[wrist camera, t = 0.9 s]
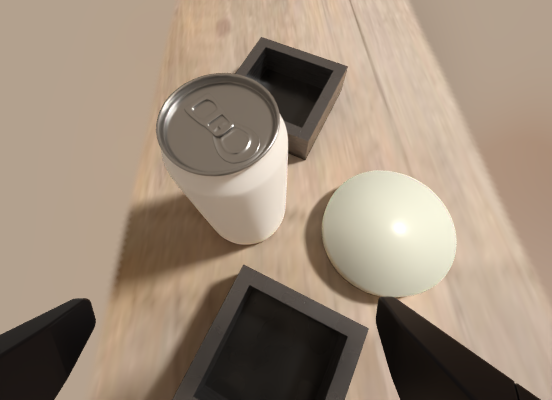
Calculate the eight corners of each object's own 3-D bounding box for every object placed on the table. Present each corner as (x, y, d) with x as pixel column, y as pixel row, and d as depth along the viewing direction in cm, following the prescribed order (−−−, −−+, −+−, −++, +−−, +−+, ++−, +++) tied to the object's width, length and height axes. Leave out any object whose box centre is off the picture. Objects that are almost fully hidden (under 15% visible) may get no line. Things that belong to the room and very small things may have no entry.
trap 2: (306, 467, 17) (311, 498, 14) (185, 391, 19) (169, 405, 16) (356, 325, 20) (368, 328, 17) (248, 270, 22) (243, 264, 19)
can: (242, 262, 22) (201, 215, 11) (195, 206, 24) (119, 115, 13) (301, 211, 23) (319, 123, 12) (252, 162, 25) (230, 46, 14)
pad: (426, 322, 20) (437, 323, 19) (302, 261, 22) (303, 257, 20) (457, 206, 23) (469, 200, 22) (347, 161, 25) (351, 152, 24)
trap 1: (305, 160, 25) (308, 141, 22) (220, 124, 27) (213, 103, 24) (341, 90, 28) (347, 66, 25) (263, 62, 30) (261, 37, 27)
